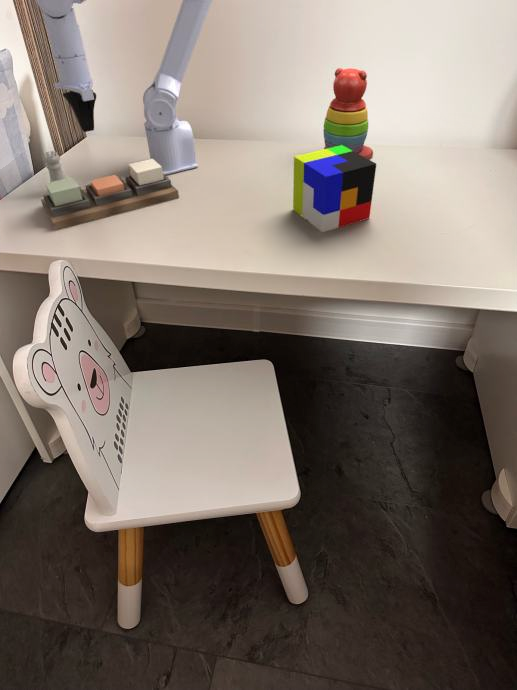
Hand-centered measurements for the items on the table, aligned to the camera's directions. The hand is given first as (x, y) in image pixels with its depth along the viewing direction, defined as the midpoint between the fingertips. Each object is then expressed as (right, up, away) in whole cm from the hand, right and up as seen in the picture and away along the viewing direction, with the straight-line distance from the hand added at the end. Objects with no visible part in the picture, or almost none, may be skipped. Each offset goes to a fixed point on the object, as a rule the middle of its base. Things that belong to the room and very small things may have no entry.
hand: (88, 130), depth 102 cm
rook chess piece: (-5, -13, 0) cm, 14 cm away
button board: (+6, -16, -4) cm, 18 cm away
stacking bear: (+54, -2, +9) cm, 55 cm away
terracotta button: (+6, -15, -5) cm, 17 cm away
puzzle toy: (+48, -20, -10) cm, 53 cm away
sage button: (-1, -16, -9) cm, 19 cm away
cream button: (+13, -11, -3) cm, 17 cm away
